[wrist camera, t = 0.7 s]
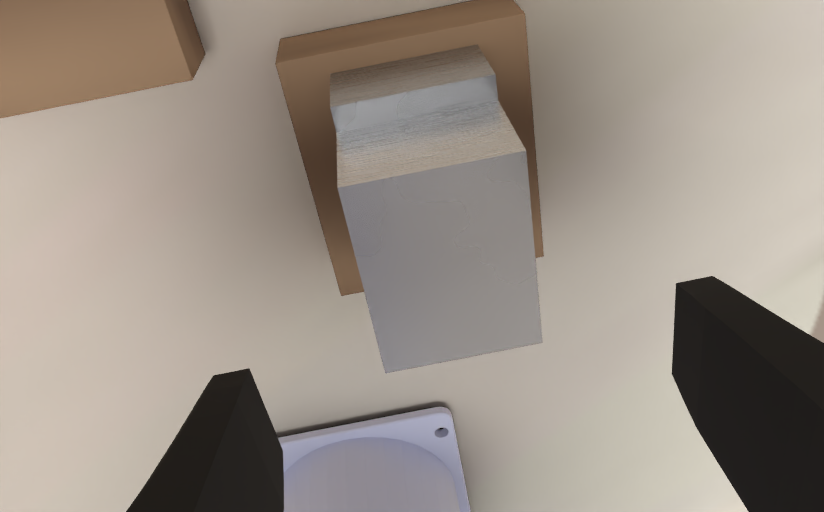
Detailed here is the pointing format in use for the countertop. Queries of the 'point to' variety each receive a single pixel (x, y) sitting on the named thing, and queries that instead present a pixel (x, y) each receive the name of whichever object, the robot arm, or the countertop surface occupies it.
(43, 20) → the stand
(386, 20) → the stand
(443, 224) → the block
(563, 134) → the countertop surface
